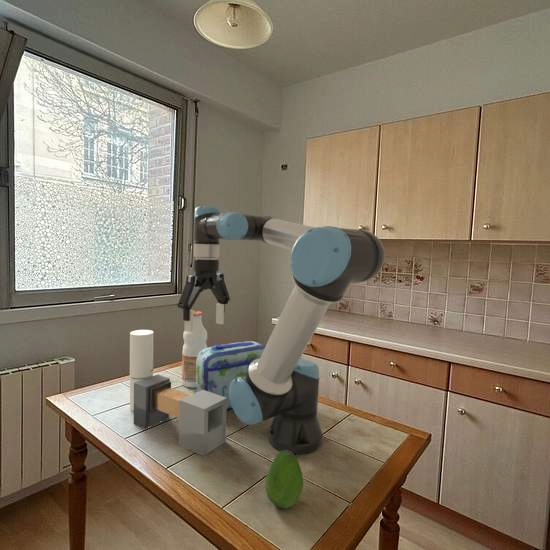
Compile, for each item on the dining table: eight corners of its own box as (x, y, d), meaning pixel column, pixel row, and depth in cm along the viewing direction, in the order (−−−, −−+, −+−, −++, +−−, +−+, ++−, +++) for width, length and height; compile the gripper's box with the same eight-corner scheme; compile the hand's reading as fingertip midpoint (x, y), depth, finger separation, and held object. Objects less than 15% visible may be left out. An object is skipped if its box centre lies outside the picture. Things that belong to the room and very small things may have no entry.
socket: (169, 417, 116) (169, 378, 115) (145, 429, 108) (145, 387, 107) (157, 412, 119) (157, 374, 118) (133, 423, 111) (133, 382, 110)
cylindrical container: (156, 403, 126) (157, 330, 123) (147, 412, 118) (147, 335, 116) (136, 401, 126) (136, 329, 124) (125, 410, 119) (125, 334, 117)
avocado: (294, 522, 74) (297, 465, 73) (259, 510, 77) (261, 455, 76) (306, 497, 82) (309, 445, 81) (273, 487, 85) (275, 437, 84)
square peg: (208, 419, 105) (208, 394, 105) (189, 429, 99) (189, 403, 99) (158, 400, 117) (159, 377, 116) (139, 408, 111) (139, 384, 110)
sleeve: (225, 441, 103) (226, 397, 102) (203, 456, 96) (204, 409, 95) (202, 431, 108) (202, 389, 107) (178, 444, 101) (179, 399, 100)
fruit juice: (179, 380, 146) (181, 310, 144) (203, 377, 150) (205, 309, 148) (184, 389, 138) (185, 315, 135) (209, 386, 141) (211, 314, 139)
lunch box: (204, 418, 116) (205, 352, 115) (192, 405, 125) (193, 344, 123) (274, 401, 131) (276, 343, 129) (258, 390, 140) (260, 335, 138)
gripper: (224, 257, 125) (222, 319, 127) (165, 258, 104) (164, 332, 106) (241, 258, 121) (239, 322, 123) (184, 260, 100) (182, 337, 102)
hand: (204, 327), depth 114 cm, fingers open, 13 cm apart
